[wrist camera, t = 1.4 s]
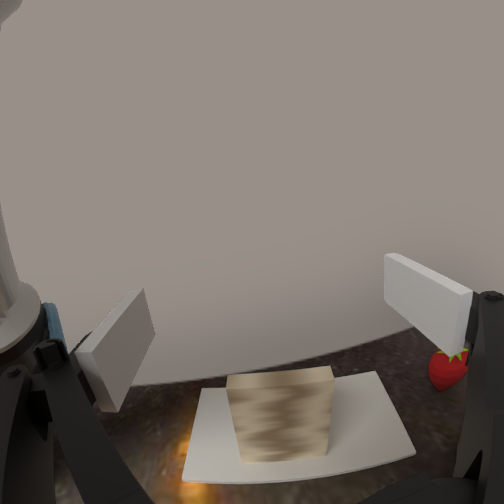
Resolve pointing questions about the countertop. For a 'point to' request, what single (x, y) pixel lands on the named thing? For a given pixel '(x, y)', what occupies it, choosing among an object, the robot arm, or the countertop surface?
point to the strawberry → (447, 369)
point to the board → (281, 413)
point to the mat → (334, 463)
